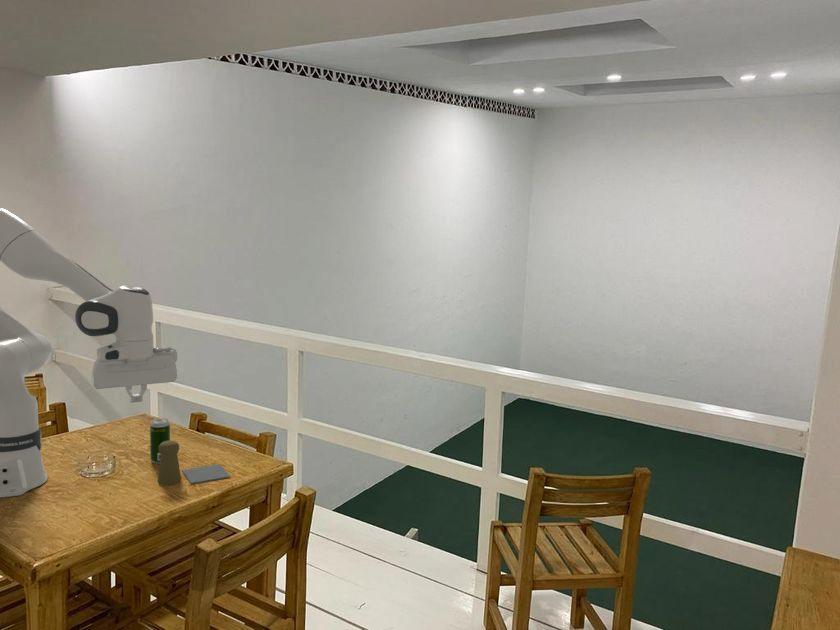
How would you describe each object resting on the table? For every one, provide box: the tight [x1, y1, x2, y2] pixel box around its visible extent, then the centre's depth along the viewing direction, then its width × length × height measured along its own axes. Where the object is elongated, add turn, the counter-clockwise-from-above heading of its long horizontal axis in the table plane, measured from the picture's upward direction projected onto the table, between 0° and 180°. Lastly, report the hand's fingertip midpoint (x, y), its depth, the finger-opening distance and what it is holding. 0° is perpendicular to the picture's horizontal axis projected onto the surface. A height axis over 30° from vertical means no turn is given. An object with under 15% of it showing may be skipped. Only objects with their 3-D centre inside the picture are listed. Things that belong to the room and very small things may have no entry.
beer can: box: [149, 418, 171, 465], centre depth 194 cm, size 5×5×12 cm
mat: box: [181, 463, 231, 485], centre depth 186 cm, size 10×10×1 cm
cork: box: [157, 440, 182, 486], centre depth 180 cm, size 6×6×11 cm
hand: (136, 401), depth 173 cm, fingers closed
